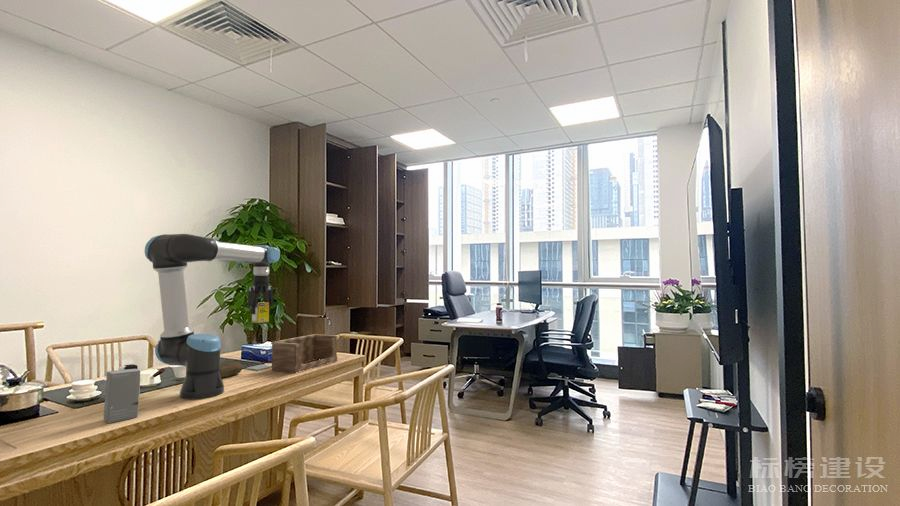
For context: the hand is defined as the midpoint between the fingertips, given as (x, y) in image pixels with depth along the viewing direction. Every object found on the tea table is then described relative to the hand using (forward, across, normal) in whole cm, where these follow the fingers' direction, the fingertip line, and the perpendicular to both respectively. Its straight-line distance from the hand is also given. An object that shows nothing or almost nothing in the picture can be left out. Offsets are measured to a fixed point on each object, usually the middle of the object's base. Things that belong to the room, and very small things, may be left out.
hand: (260, 319), depth 211 cm
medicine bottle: (+25, -56, +7) cm, 62 cm away
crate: (+25, +15, -17) cm, 33 cm away
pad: (+25, 0, 0) cm, 25 cm away
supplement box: (+2, 0, 0) cm, 2 cm away
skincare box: (+25, -71, -20) cm, 78 cm away
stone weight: (+25, -19, 0) cm, 32 cm away
